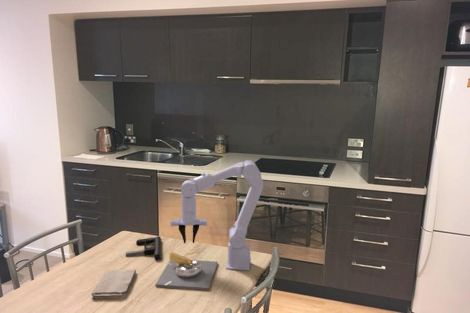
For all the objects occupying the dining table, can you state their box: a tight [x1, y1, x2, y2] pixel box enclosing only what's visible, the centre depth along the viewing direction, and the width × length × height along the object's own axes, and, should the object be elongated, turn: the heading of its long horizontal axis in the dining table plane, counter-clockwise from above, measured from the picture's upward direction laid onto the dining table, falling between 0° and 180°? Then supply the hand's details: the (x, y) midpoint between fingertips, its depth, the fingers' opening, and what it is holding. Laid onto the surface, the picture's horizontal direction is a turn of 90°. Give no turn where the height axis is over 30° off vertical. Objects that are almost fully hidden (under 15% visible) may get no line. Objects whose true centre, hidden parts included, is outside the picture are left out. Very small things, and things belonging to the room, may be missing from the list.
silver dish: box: [169, 252, 201, 278], centre depth 140 cm, size 14×10×5 cm
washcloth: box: [91, 268, 137, 300], centre depth 131 cm, size 12×18×3 cm, turn 3°
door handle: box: [125, 235, 163, 261], centre depth 159 cm, size 3×20×16 cm
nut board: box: [155, 259, 218, 291], centre depth 139 cm, size 20×20×1 cm
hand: (189, 242), depth 144 cm, fingers open, 3 cm apart
